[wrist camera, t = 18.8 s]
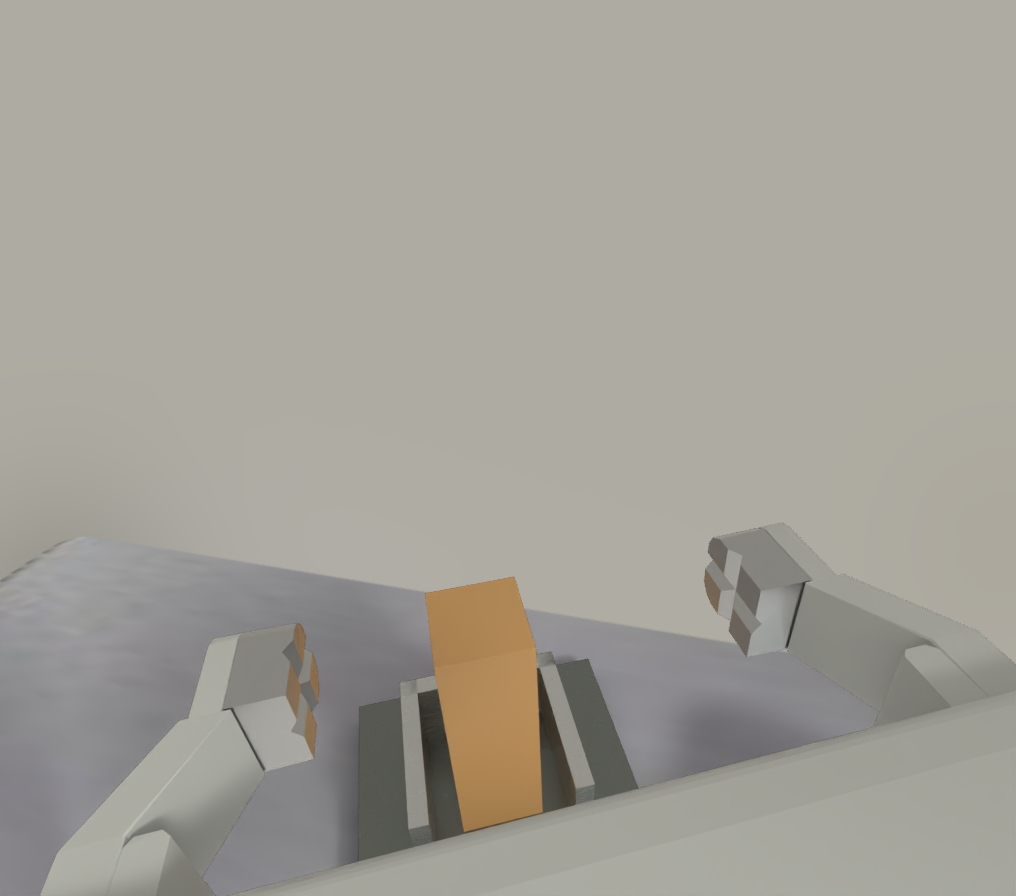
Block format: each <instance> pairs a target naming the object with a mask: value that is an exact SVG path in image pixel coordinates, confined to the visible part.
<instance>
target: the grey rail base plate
mask: <svg viewBox="0 0 1016 896" xmlns="http://www.w3.org/2000/svg"><path fill="white" fill-rule="evenodd" d="M536 659H537V684H538V709H539V734H540V759H541V784H542V809H543V812H542V813H538V814H534V815H530V816H526V817H522V818H518V819H514V820H510V821H506V822H502V823H498V824H494V825H490V826H486V827H482V828H478V829H474V830H470V831H466V832H464V829H463V824H462V819H461V813H460V808H459V802H458V797H457V791H456V786H455V780H454V775H453V769H452V764H451V758H450V753H449V747H448V742H447V736H446V731H445V726H444V720H443V715H442V709H441V704H440V698H439V693H438V687H437V682H436V676H435V675H434V676H429V677H424V678H419V679H414V680H410V681H405V682H400V695H401V698H399V699H394V700H389V701H385V702H380V703H375V704H370V705H366V706H361V707H359V833H358V862H359V861H362V860H366V859H370V858H374V857H378V856H382V855H386V854H389V853H393V852H397V851H401V850H405V849H409V848H412V847H416V846H420V845H424V844H428V843H432V842H435V841H439V840H443V839H447V838H451V837H455V836H459V835H462V834H466V833H470V832H474V831H478V830H482V829H485V828H489V827H493V826H497V825H501V824H505V823H508V822H512V821H516V820H520V819H524V818H528V817H531V816H535V815H539V814H543V813H547V812H551V811H554V810H558V809H562V808H566V807H570V806H574V805H577V804H581V803H585V802H589V801H593V800H597V799H600V798H604V797H608V796H612V795H616V794H620V793H623V792H627V791H631V790H635V789H638V786H637V784H636V781H635V779H634V776H633V773H632V771H631V768H630V766H629V763H628V761H627V758H626V755H625V753H624V750H623V748H622V745H621V743H620V740H619V737H618V735H617V732H616V730H615V727H614V725H613V722H612V719H611V717H610V714H609V712H608V709H607V706H606V704H605V701H604V699H603V696H602V694H601V691H600V688H599V686H598V683H597V681H596V678H595V676H594V673H593V670H592V668H591V665H590V663H589V660H588V659H584V660H579V661H575V662H570V663H565V664H560V665H556V664H555V661H554V658H553V655H552V652H551V651H550V652H545V653H540V654H536Z"/></svg>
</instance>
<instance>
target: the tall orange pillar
mask: <svg viewBox="0 0 1016 896" xmlns="http://www.w3.org/2000/svg"><path fill="white" fill-rule="evenodd" d="M425 597H426V606H427V614H428V622H429V630H430V639H431V647H432V655H433V664H434V671H435V676H436V682H437V687H438V693H439V698H440V704H441V709H442V715H443V720H444V726H445V731H446V736H447V742H448V747H449V753H450V758H451V764H452V769H453V775H454V780H455V786H456V791H457V797H458V802H459V808H460V813H461V819H462V824H463V829H464V832H466V831H470V830H474V829H478V828H482V827H486V826H490V825H494V824H498V823H502V822H506V821H510V820H514V819H518V818H522V817H526V816H530V815H534V814H538V813H542V812H543V809H542V784H541V759H540V734H539V709H538V684H537V659H536V646H535V643H534V639H533V636H532V633H531V630H530V626H529V623H528V620H527V616H526V613H525V610H524V607H523V603H522V600H521V597H520V594H519V590H518V587H517V584H516V580H515V577H510V578H504V579H499V580H494V581H488V582H483V583H478V584H472V585H467V586H462V587H457V588H451V589H446V590H440V591H435V592H429V593H425Z"/></svg>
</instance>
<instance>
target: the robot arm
mask: <svg viewBox="0 0 1016 896" xmlns="http://www.w3.org/2000/svg"><path fill="white" fill-rule="evenodd" d="M708 553H709V554H710V556H711V557H712V559H713V560H712V562H711V563H710V564H709V565H708V566H707V568H706V569H705V580H704V582H705V587H706V592H707V596H708V598H709V600H710V603H711V604H712V606H713V608H714V609H715V611H716V612H717V614H719V615H721V616H723V617H725V618H726V619H728V620H730V627H729V632H730V633H731V635H732V636H733V638H734V639H735V641H736V642H737V644H738V645H739V647H740V648H741V650H742V651H743V652H744V654H745V655H746V657H751V656H755V655H760V654H765V653H770V652H775V651H780V650H785V649H787V651H788V652H789V653H791V654H792V655H794V656H795V657H797V658H798V659H800V660H801V661H803V662H804V663H806V664H807V665H809V666H810V667H812V668H813V669H815V670H817V671H818V672H820V673H821V674H823V675H824V676H826V677H827V678H829V679H830V680H832V681H833V682H835V683H836V684H838V685H839V686H841V687H842V688H844V689H845V690H847V691H849V692H850V693H852V694H853V695H855V696H856V697H858V698H859V699H861V700H862V701H864V702H865V703H867V704H868V705H870V706H871V707H873V708H874V709H876V710H877V711H879V713H878V716H877V718H876V720H875V723H874V725H873V727H872V728H869V729H865V730H861V731H857V732H854V733H850V734H846V735H842V736H838V737H834V738H831V739H827V740H823V741H819V742H815V743H811V744H807V745H804V746H800V747H796V748H792V749H788V750H784V751H781V752H777V753H773V754H769V755H765V756H761V757H758V758H754V759H750V760H746V761H742V762H738V763H735V764H731V765H727V766H723V767H719V768H715V769H712V770H708V771H704V772H700V773H696V774H692V775H689V776H685V777H681V778H677V779H673V780H669V781H666V782H662V783H658V784H654V785H650V786H646V787H643V788H639V789H635V790H631V791H627V792H623V793H620V794H616V795H612V796H608V797H604V798H600V799H597V800H593V801H589V802H585V803H581V804H577V805H574V806H570V807H566V808H562V809H558V810H554V811H551V812H547V813H543V814H539V815H535V816H531V817H528V818H524V819H520V820H516V821H512V822H508V823H505V824H501V825H497V826H493V827H489V828H485V829H482V830H478V831H474V832H470V833H466V834H462V835H459V836H455V837H451V838H447V839H443V840H439V841H435V842H432V843H428V844H424V845H420V846H416V847H412V848H409V849H405V850H401V851H397V852H393V853H389V854H386V855H382V856H378V857H374V858H370V859H366V860H362V861H359V862H355V863H351V864H347V865H343V866H339V867H336V868H332V869H328V870H324V871H320V872H316V873H312V874H309V875H305V876H301V877H297V878H293V879H289V880H286V881H282V882H278V883H274V884H270V885H266V886H263V887H259V888H255V889H251V890H247V891H243V892H239V893H236V894H232V895H228V896H1016V664H1015V663H1014V662H1013V661H1012V660H1011V659H1009V658H1008V657H1007V656H1006V655H1005V654H1004V653H1003V652H1002V651H1000V650H999V649H998V648H997V647H996V646H995V645H994V644H993V643H991V642H990V641H989V640H988V639H987V638H986V637H985V636H983V635H982V634H981V633H980V632H979V631H978V630H976V629H973V628H971V627H968V626H966V625H964V624H961V623H959V622H957V621H954V620H952V619H950V618H947V617H945V616H942V615H940V614H938V613H935V612H933V611H931V610H928V609H926V608H923V607H921V606H919V605H916V604H914V603H911V602H909V601H907V600H904V599H902V598H900V597H897V596H895V595H893V594H890V593H888V592H885V591H883V590H881V589H878V588H876V587H873V586H871V585H869V584H866V583H864V582H861V581H859V580H857V579H854V578H852V577H850V576H847V575H845V574H843V575H836V574H835V573H834V572H833V571H832V570H831V569H830V568H829V567H828V566H827V564H826V563H825V562H824V561H823V560H822V559H821V558H819V556H818V555H817V554H815V552H814V551H813V550H812V549H811V548H810V547H809V546H808V545H807V544H806V543H805V542H804V541H803V540H802V539H801V538H800V537H799V536H798V535H797V534H796V533H795V532H794V531H793V530H792V529H791V528H790V527H789V526H788V525H786V524H784V523H778V524H773V525H769V526H764V527H760V528H755V529H750V530H746V531H741V532H736V533H731V534H727V535H722V536H718V537H713V538H712V540H711V541H710V543H709V549H708ZM305 640H306V635H305V633H304V630H303V628H302V626H301V624H299V623H294V624H288V625H283V626H277V627H272V628H266V629H261V630H255V631H249V632H244V633H242V634H236V635H230V636H225V637H219V638H214V639H213V640H212V642H211V643H210V644H209V646H208V648H207V652H206V655H205V659H204V662H203V666H202V669H201V673H200V677H199V680H198V684H197V687H196V691H195V694H194V698H193V701H192V705H191V708H190V712H189V716H188V719H184V720H180V721H178V722H177V723H176V724H175V725H174V726H173V728H172V729H171V730H170V731H169V732H168V733H167V734H166V735H165V736H164V737H163V738H162V739H161V741H160V742H159V743H158V744H157V745H156V746H155V747H154V748H153V749H152V750H151V751H150V752H149V754H148V755H147V756H146V757H145V758H144V759H143V760H142V761H141V762H140V763H139V764H138V765H137V767H136V768H135V769H134V770H133V771H132V772H131V773H130V774H129V775H128V776H127V777H126V778H125V780H124V781H123V782H122V783H121V784H120V785H119V786H118V787H117V788H116V789H115V790H114V791H113V793H112V794H111V795H110V796H109V797H108V798H107V799H106V800H105V801H104V802H103V803H102V804H101V806H100V807H99V808H98V809H97V810H96V811H95V812H94V813H93V814H92V815H91V816H90V817H89V819H88V820H87V821H86V822H85V823H84V824H83V825H82V826H81V827H80V828H79V829H78V830H77V832H76V833H75V834H74V835H73V836H72V837H71V838H70V839H69V840H68V841H67V842H66V844H65V845H64V846H63V847H62V848H61V849H60V850H59V851H58V852H57V855H56V857H55V859H54V862H53V864H52V867H51V869H50V872H49V874H48V877H47V879H46V882H45V884H44V887H43V889H42V892H41V894H40V896H216V895H215V894H214V893H213V892H212V890H211V889H210V888H209V886H208V885H207V884H206V882H205V881H204V880H203V878H202V877H203V875H204V874H205V872H206V871H207V869H208V867H209V866H210V864H211V862H212V861H213V859H214V857H215V856H216V854H217V853H218V851H219V849H220V848H221V846H222V844H223V843H224V841H225V840H226V838H227V836H228V835H229V833H230V831H231V830H232V828H233V827H234V825H235V823H236V822H237V820H238V818H239V817H240V815H241V814H242V812H243V810H244V809H245V807H246V805H247V804H248V802H249V801H250V799H251V797H252V796H253V794H254V792H255V791H256V789H257V788H258V786H259V784H260V783H261V781H262V779H263V778H264V776H265V773H264V772H267V771H271V770H274V769H278V768H282V767H286V766H289V765H293V764H297V763H301V762H305V761H308V760H312V759H314V750H315V738H316V722H315V720H314V717H313V715H312V710H313V709H314V708H315V706H316V705H317V704H318V697H319V682H318V671H317V667H316V662H315V659H314V656H313V653H312V652H311V651H309V650H307V649H305Z"/></svg>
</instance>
